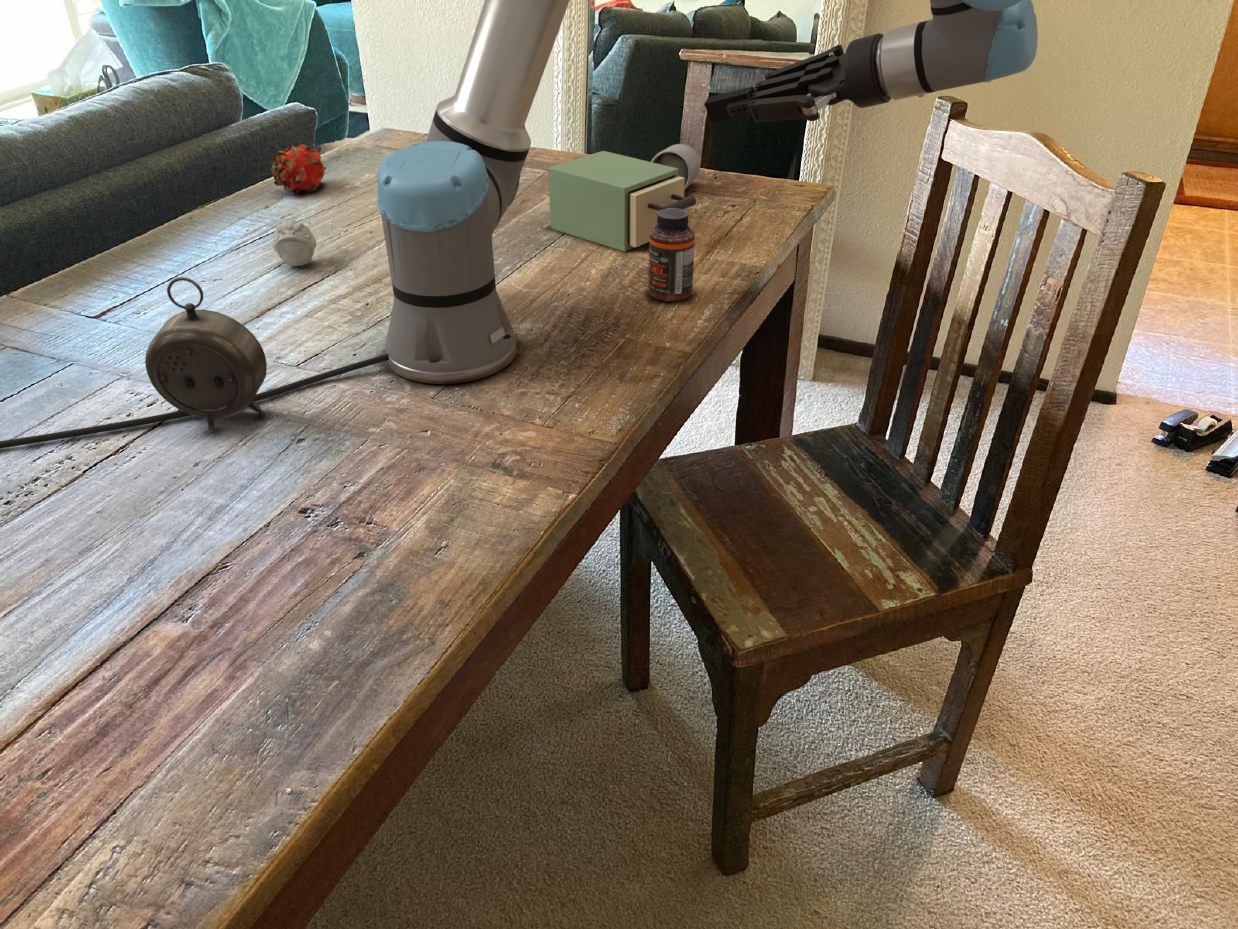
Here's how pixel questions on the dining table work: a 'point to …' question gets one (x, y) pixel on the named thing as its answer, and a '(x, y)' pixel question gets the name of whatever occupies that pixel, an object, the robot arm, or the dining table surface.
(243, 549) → the dining table surface
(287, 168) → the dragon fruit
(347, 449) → the dining table surface
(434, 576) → the dining table surface
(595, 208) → the cabinet
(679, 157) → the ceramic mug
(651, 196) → the drawer
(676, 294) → the supplement bottle
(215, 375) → the alarm clock
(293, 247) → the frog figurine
